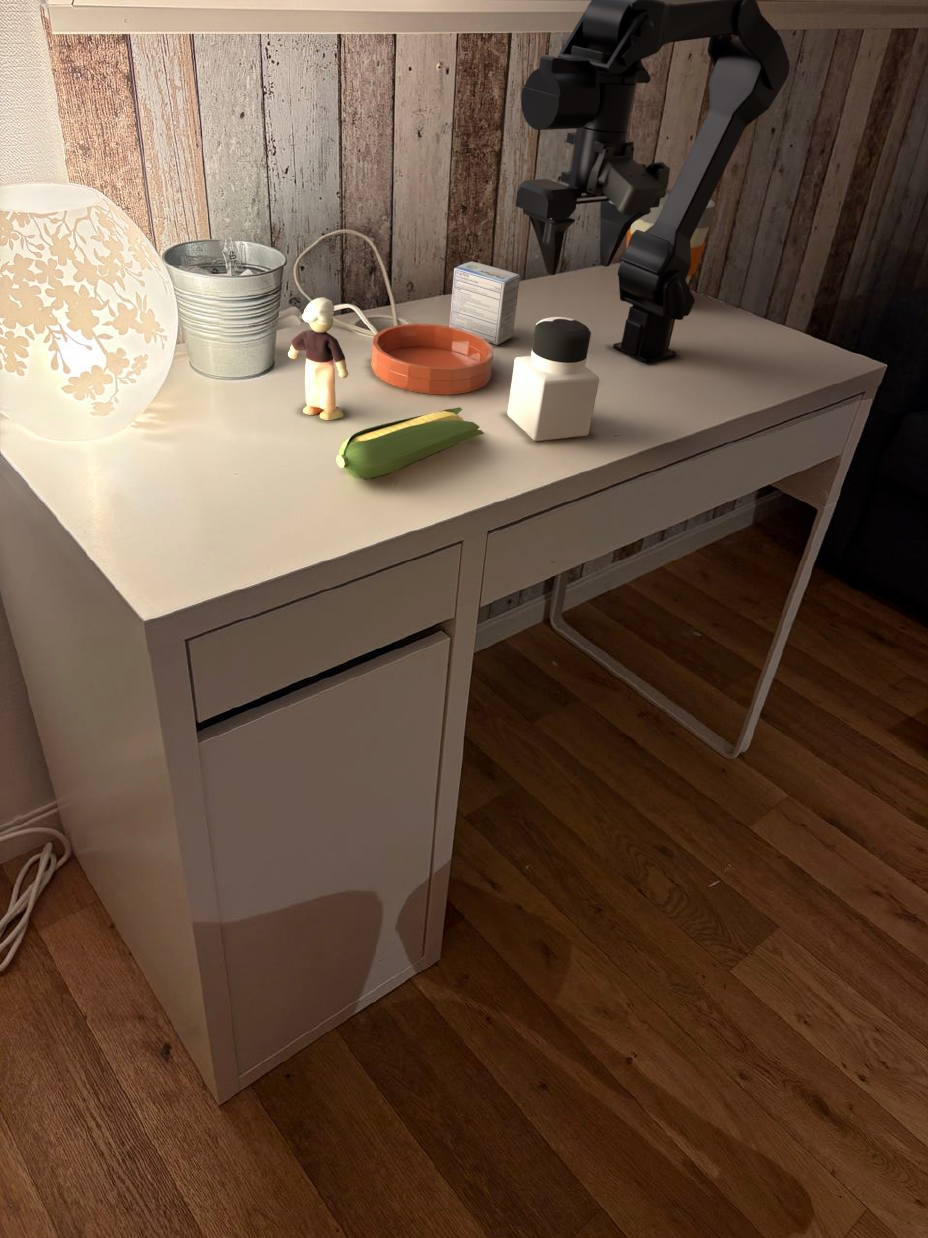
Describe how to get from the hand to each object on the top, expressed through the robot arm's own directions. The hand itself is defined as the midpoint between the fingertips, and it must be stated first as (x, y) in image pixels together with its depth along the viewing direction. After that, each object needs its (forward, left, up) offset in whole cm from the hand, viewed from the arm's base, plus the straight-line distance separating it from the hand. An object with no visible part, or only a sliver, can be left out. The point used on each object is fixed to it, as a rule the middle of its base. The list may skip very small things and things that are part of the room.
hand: (578, 269), depth 117 cm
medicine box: (+1, -15, -13) cm, 20 cm away
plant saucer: (+15, -8, -13) cm, 21 cm away
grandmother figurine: (+34, -4, -13) cm, 37 cm away
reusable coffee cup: (-36, -16, -13) cm, 42 cm away
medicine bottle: (+13, +11, -13) cm, 21 cm away
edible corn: (+31, +10, -13) cm, 35 cm away
